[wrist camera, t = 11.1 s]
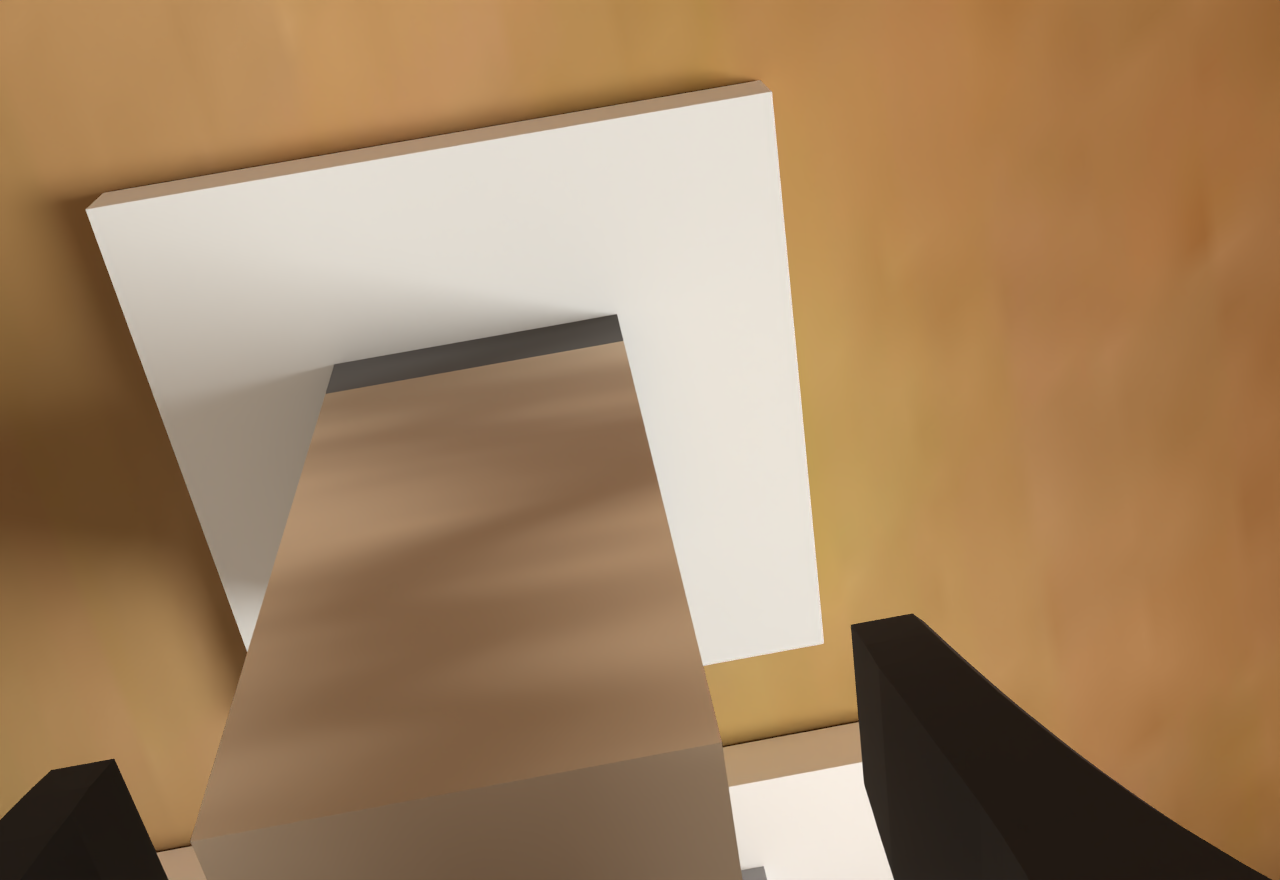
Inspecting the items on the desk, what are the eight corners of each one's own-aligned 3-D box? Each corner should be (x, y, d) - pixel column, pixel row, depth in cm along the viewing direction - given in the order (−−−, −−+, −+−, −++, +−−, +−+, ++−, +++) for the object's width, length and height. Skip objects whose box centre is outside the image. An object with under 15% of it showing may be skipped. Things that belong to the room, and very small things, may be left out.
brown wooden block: (616, 314, 17) (722, 742, 9) (656, 552, 19) (773, 1083, 11) (334, 364, 17) (189, 841, 9) (401, 599, 19) (331, 1168, 11)
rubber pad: (760, 80, 17) (771, 91, 16) (812, 615, 21) (823, 643, 20) (103, 193, 16) (85, 209, 16) (288, 711, 21) (280, 743, 20)
